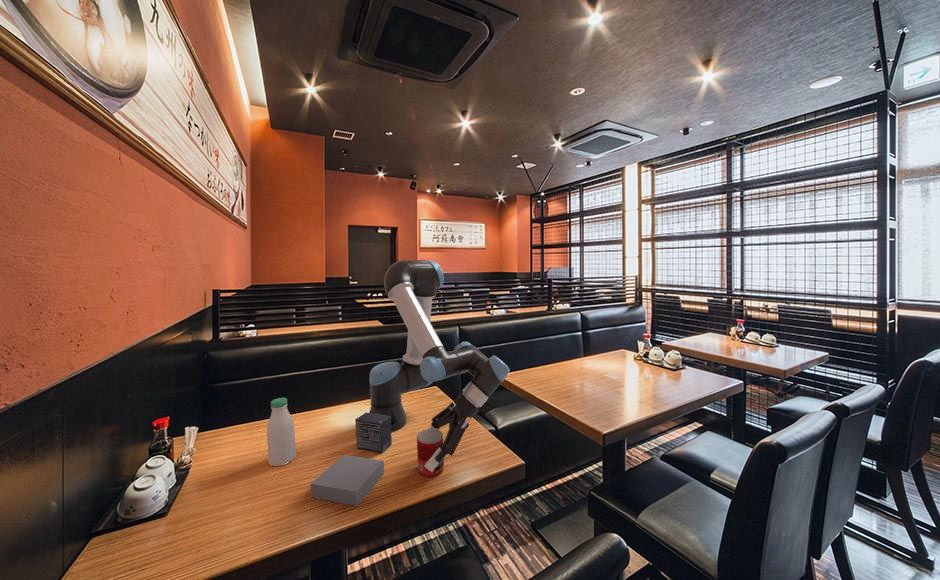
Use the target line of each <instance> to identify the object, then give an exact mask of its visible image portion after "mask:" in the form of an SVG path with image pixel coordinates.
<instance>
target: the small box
mask: <svg viewBox="0 0 940 580" xmlns="http://www.w3.org/2000/svg"><path fill="white" fill-rule="evenodd" d="M355 438H356V443H355V444H356V449H357V450H361V451H368V452H373V453H377V454H383V453H384V452H385V451H387V450H388V449H389V447H391V446H392V445H393V444H392V443H393V442H392V432H391V416H388V415H380V414H373V413H369V412H364V413H362V414H361V415H360V416H358V417H356V418H355Z"/></svg>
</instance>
